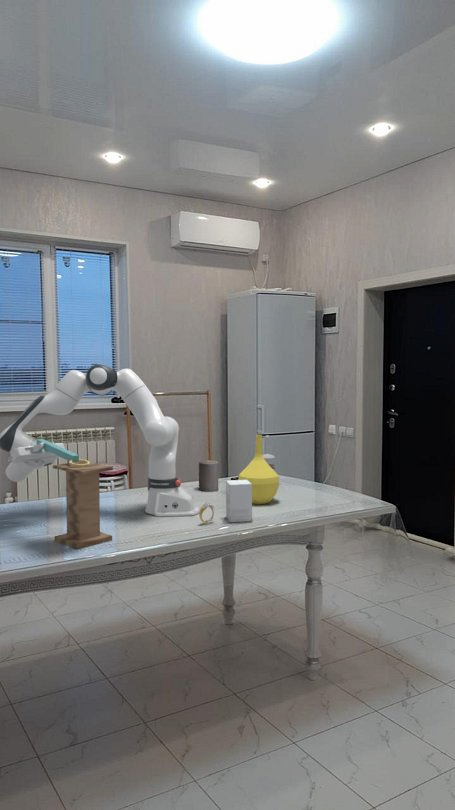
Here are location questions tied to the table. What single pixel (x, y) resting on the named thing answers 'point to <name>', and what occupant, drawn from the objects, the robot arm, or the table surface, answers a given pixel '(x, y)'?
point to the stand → (83, 505)
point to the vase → (260, 477)
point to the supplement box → (238, 500)
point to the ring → (204, 509)
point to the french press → (268, 456)
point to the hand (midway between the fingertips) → (47, 443)
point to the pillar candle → (208, 476)
